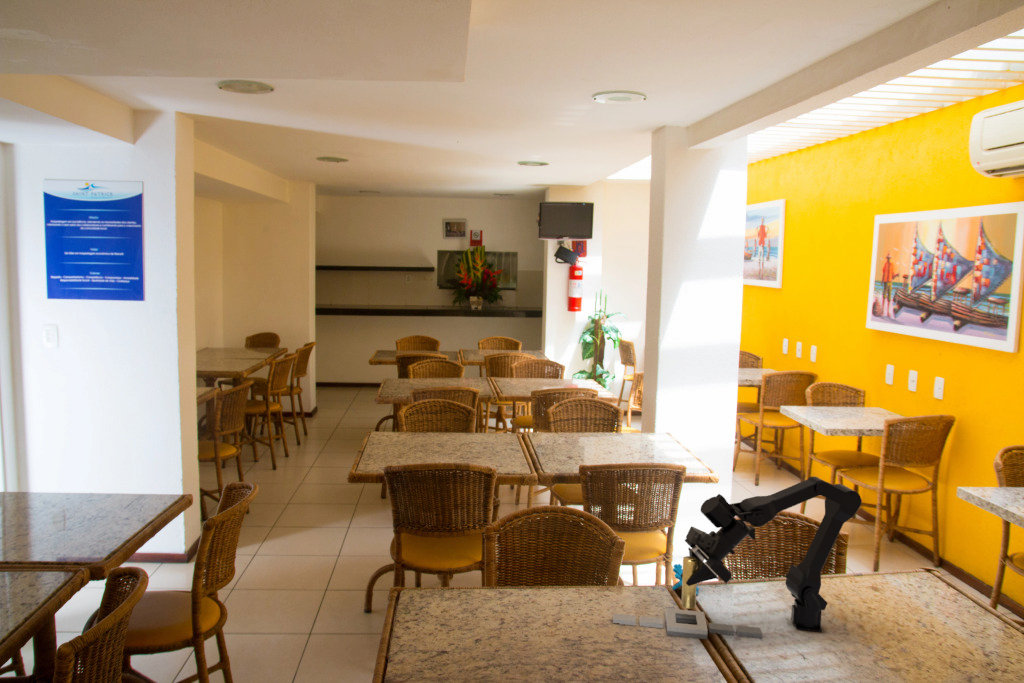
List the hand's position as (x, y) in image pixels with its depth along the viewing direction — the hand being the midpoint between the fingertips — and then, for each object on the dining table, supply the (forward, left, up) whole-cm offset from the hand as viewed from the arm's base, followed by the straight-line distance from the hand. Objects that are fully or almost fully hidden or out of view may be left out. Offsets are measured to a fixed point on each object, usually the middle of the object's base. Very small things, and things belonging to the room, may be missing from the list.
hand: (684, 581), depth 182 cm
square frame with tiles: (-1, -2, -13) cm, 14 cm away
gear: (-2, -24, -14) cm, 28 cm away
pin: (-1, 0, -7) cm, 7 cm away
